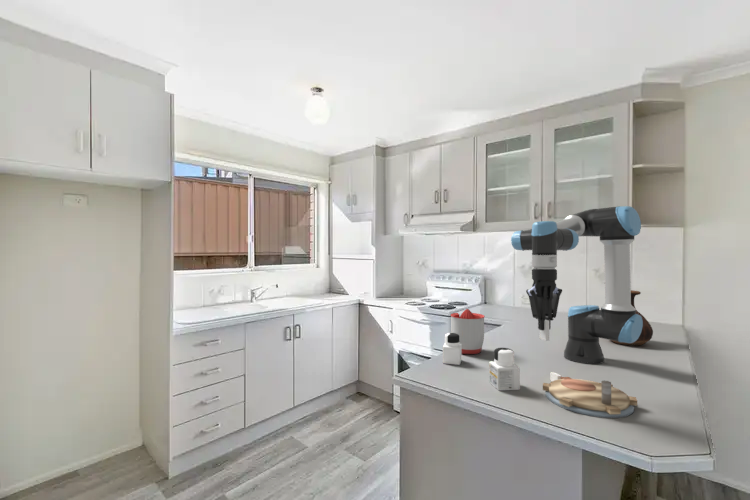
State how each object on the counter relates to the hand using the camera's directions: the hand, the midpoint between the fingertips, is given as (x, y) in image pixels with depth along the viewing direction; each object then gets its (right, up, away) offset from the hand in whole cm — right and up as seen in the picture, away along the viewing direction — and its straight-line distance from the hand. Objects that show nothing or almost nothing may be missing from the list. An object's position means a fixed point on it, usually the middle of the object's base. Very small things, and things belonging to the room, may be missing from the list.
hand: (544, 339), depth 119 cm
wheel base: (+11, -18, -2) cm, 21 cm away
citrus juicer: (-13, -18, +51) cm, 56 cm away
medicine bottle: (-23, -18, +34) cm, 45 cm away
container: (-11, -18, +7) cm, 22 cm away
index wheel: (+11, -17, -5) cm, 21 cm away
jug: (+72, -18, +65) cm, 99 cm away
